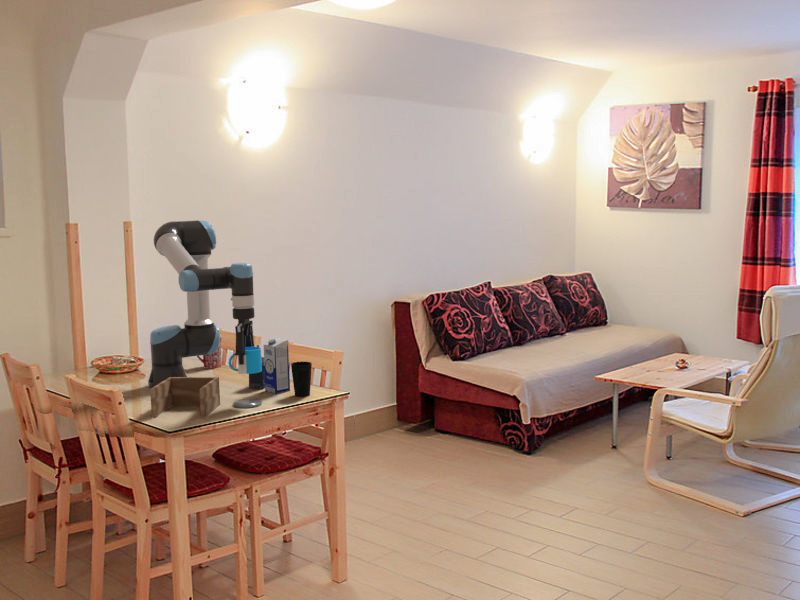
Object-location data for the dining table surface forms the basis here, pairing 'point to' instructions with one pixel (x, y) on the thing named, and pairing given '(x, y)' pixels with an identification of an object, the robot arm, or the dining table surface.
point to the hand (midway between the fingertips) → (246, 370)
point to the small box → (258, 378)
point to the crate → (186, 394)
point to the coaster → (247, 403)
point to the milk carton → (276, 365)
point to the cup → (301, 378)
